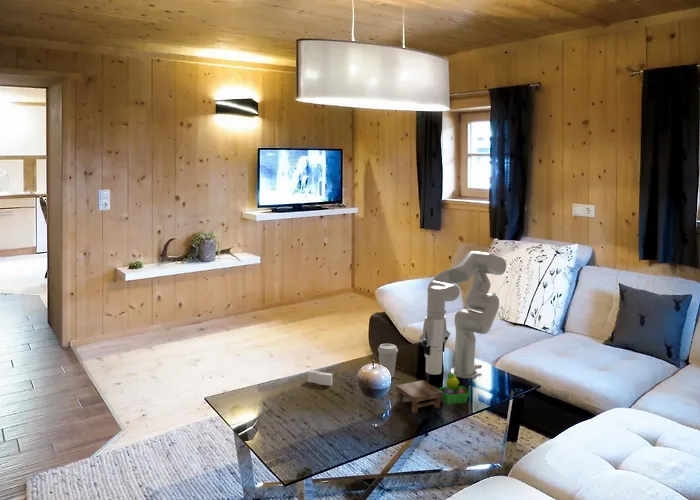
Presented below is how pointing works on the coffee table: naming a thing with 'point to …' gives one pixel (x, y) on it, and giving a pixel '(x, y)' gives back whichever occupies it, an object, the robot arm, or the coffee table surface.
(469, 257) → the robot arm
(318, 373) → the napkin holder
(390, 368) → the coffee cup
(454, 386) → the fruit basket
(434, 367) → the cylindrical container
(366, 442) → the coffee table surface
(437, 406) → the stool
